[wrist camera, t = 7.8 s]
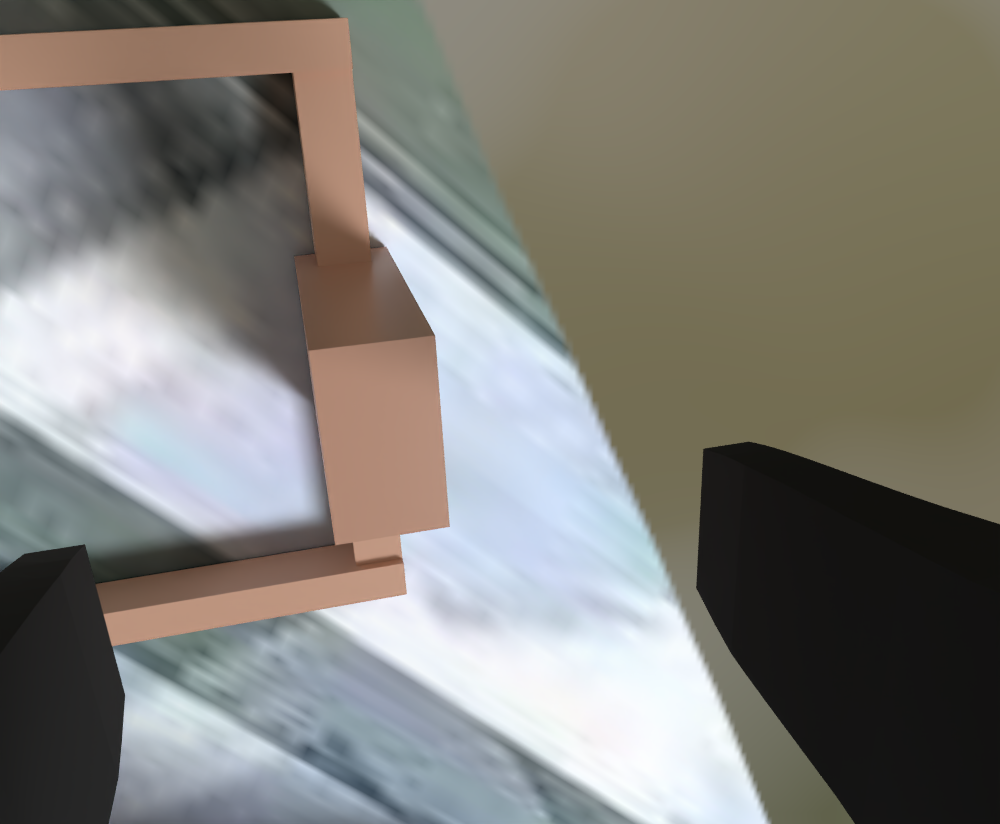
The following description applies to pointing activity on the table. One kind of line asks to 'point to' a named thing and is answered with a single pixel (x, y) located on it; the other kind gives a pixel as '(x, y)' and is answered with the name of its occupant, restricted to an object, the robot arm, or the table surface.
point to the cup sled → (327, 325)
